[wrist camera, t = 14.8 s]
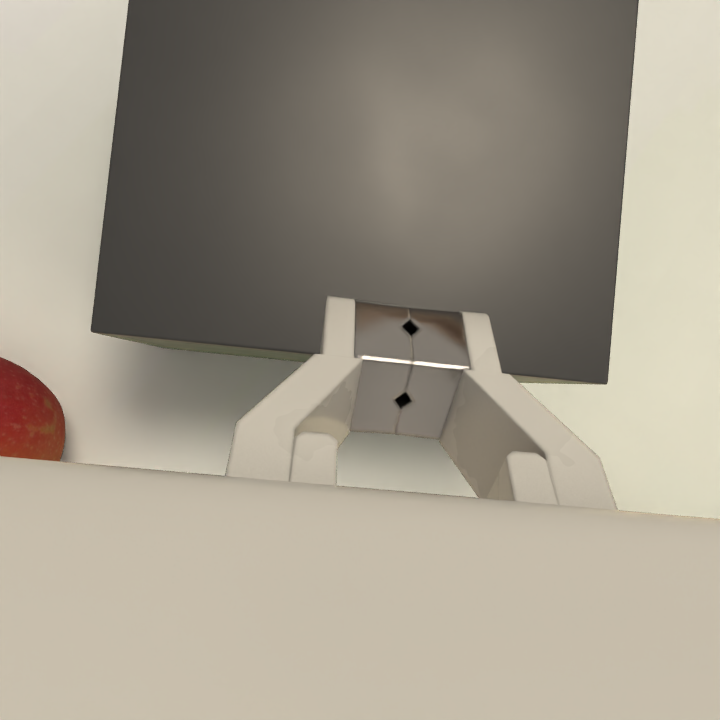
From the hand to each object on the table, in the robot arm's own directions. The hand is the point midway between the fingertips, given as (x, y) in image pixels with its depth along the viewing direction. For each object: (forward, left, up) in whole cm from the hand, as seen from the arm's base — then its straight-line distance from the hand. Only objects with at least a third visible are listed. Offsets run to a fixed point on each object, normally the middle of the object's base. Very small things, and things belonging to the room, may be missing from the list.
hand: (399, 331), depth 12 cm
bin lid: (0, -7, -10) cm, 13 cm away
